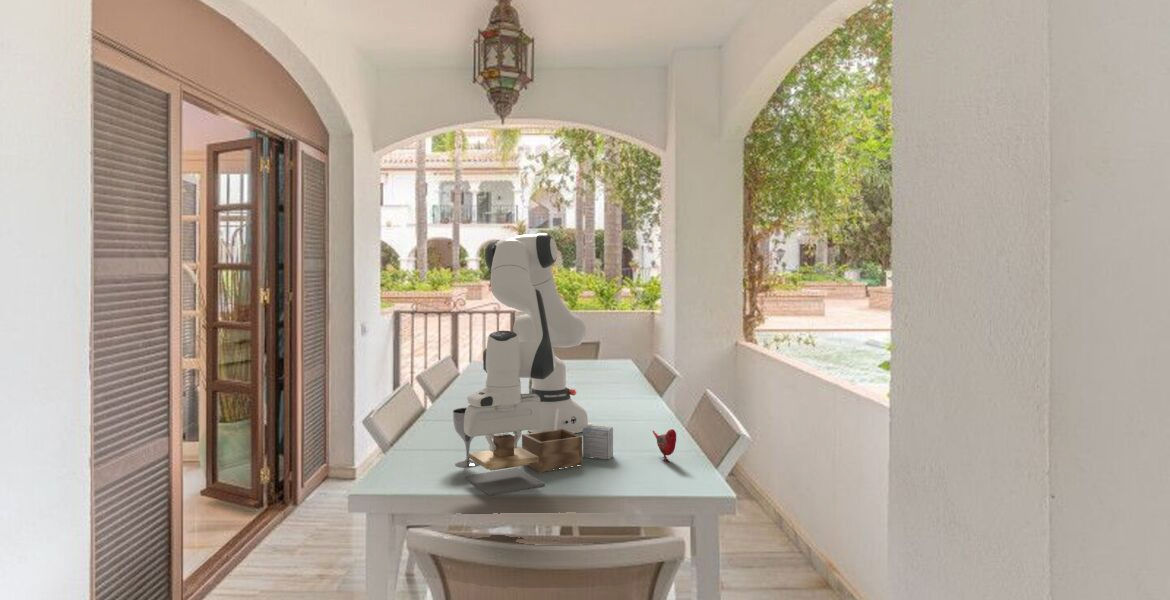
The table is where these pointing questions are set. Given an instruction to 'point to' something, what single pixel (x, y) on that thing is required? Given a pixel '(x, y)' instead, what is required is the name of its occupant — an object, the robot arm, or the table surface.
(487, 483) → the mat
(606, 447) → the medicine box
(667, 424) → the table surface
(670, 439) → the decorative bird figurine
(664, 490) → the table surface
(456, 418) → the wine glass
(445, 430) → the table surface
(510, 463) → the lid
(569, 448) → the storage box
